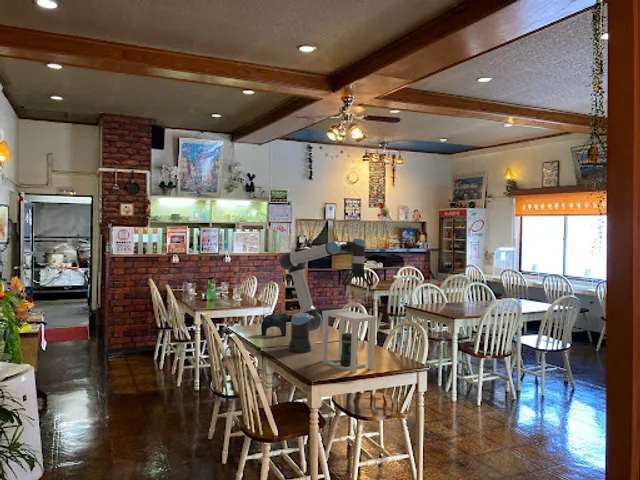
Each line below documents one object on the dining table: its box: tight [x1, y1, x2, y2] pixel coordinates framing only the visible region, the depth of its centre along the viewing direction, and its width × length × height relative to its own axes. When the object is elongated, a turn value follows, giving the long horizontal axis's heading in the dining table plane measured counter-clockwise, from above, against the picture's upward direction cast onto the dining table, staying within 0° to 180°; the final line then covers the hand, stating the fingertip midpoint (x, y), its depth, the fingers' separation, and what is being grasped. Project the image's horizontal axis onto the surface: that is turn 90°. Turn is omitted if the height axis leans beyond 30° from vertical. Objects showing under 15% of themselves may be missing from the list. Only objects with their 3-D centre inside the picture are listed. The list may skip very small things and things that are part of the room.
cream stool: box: [320, 308, 377, 374], centre depth 298 cm, size 17×30×30 cm, turn 37°
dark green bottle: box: [339, 332, 359, 367], centre depth 298 cm, size 10×8×19 cm
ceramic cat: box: [260, 307, 290, 337], centre depth 374 cm, size 20×6×20 cm, turn 92°
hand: (357, 296), depth 327 cm, fingers open, 13 cm apart
